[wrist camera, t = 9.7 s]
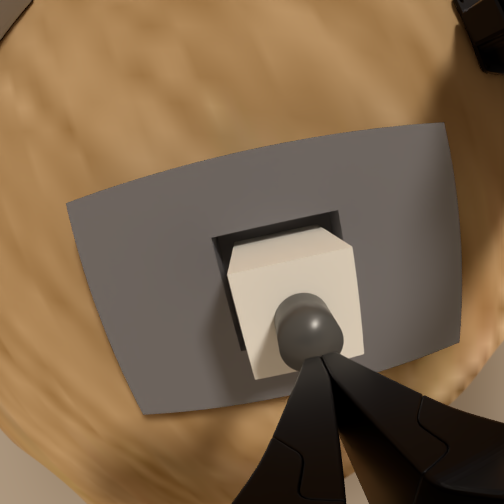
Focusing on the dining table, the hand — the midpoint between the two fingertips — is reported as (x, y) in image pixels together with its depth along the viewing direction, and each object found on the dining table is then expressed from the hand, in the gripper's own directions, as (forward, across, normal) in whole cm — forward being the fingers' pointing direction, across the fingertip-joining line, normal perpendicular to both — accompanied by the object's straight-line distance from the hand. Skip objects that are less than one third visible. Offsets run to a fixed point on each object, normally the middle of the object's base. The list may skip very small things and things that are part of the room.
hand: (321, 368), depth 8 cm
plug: (+9, 0, 0) cm, 9 cm away
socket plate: (+10, 0, 0) cm, 10 cm away
